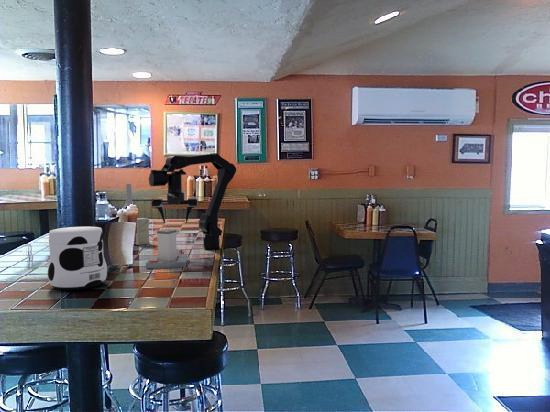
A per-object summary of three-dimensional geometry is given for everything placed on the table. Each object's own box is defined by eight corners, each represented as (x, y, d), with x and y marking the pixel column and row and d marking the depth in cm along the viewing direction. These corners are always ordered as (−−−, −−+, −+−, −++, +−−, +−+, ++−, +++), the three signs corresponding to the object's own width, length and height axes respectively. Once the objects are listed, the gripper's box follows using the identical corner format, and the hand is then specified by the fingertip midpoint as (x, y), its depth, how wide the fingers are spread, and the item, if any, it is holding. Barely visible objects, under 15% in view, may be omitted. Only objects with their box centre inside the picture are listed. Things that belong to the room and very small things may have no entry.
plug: (165, 261, 188) (164, 229, 187) (177, 262, 186) (176, 230, 185) (157, 264, 184) (156, 231, 182) (169, 265, 182) (168, 231, 180)
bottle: (132, 240, 242) (130, 183, 239) (121, 239, 244) (119, 183, 241) (140, 238, 248) (138, 183, 245) (129, 237, 250) (127, 183, 248)
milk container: (60, 280, 161) (57, 226, 159) (113, 279, 162) (111, 225, 161) (38, 294, 144) (35, 234, 142) (98, 293, 145) (96, 233, 143)
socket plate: (187, 259, 193) (187, 253, 192) (184, 267, 179) (184, 260, 179) (151, 260, 191) (151, 254, 191) (145, 268, 177) (145, 261, 177)
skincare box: (138, 245, 227) (138, 219, 226) (133, 244, 230) (132, 218, 229) (149, 243, 232) (148, 218, 231) (143, 242, 235) (143, 217, 234)
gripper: (149, 186, 195) (150, 225, 197) (196, 186, 197) (196, 224, 199) (153, 185, 206) (154, 222, 208) (197, 185, 208) (198, 221, 210)
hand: (175, 222), depth 206 cm, fingers open, 9 cm apart
